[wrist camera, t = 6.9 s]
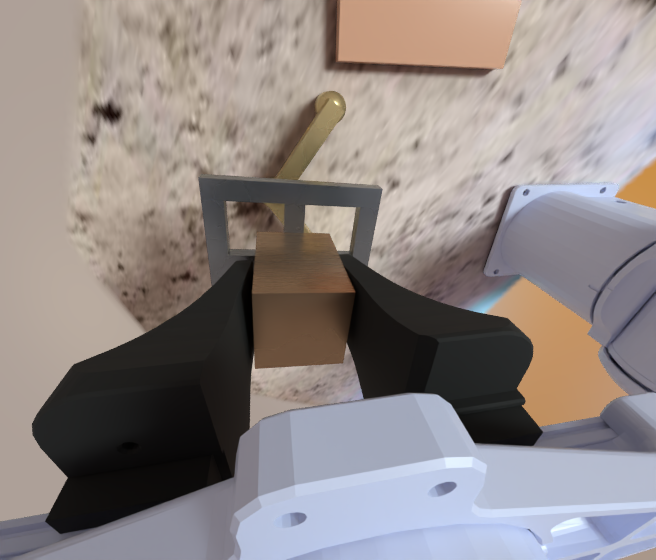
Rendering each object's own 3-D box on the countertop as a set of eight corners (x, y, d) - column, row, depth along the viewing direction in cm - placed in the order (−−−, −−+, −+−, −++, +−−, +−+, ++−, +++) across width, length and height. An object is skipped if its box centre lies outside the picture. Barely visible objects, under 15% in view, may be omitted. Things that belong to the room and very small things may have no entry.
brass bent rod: (345, 92, 17) (356, 91, 15) (337, 268, 24) (344, 284, 22) (250, 89, 16) (248, 88, 14) (269, 272, 23) (269, 289, 21)
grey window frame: (377, 185, 12) (435, 231, 8) (353, 315, 16) (384, 395, 12) (201, 174, 11) (158, 222, 7) (218, 319, 14) (198, 411, 10)
